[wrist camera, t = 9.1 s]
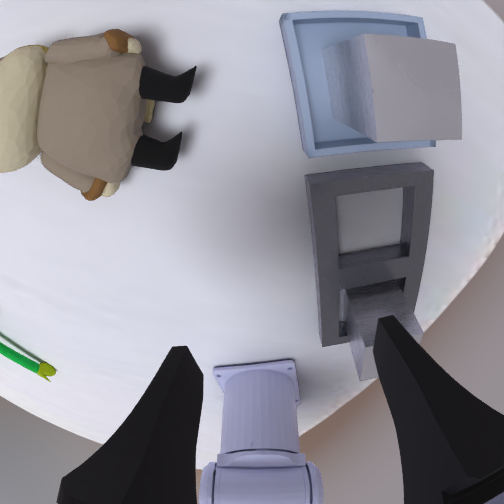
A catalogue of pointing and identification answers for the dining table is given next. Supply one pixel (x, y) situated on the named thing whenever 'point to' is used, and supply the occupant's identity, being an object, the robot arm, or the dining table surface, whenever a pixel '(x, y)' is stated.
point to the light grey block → (395, 87)
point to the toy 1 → (28, 362)
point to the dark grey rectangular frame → (375, 260)
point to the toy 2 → (85, 110)
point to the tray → (315, 82)
